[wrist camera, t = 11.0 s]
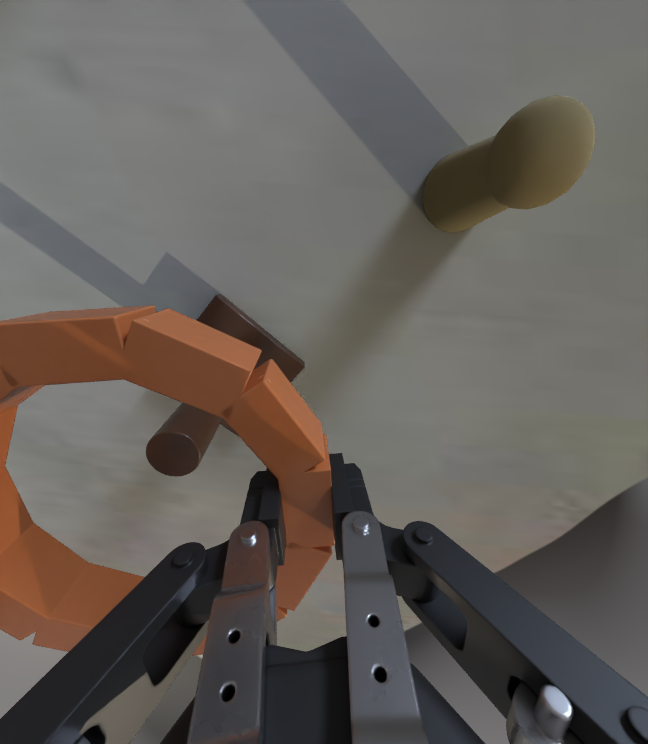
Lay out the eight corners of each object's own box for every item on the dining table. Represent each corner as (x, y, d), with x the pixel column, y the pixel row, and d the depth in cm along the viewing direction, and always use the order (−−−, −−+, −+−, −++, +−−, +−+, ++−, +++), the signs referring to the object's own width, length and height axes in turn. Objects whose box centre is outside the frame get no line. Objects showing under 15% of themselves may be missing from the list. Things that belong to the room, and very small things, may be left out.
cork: (421, 235, 27) (498, 216, 16) (423, 155, 25) (511, 75, 14) (488, 229, 27) (605, 206, 16) (494, 148, 25) (633, 64, 14)
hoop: (-63, 553, 14) (-138, 612, 12) (-14, 225, 10) (-117, 212, 8) (251, 628, 18) (243, 687, 15) (390, 407, 13) (409, 439, 11)
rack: (159, 372, 29) (33, 466, 16) (220, 293, 27) (137, 322, 13) (243, 430, 32) (198, 553, 18) (304, 362, 30) (306, 444, 16)
